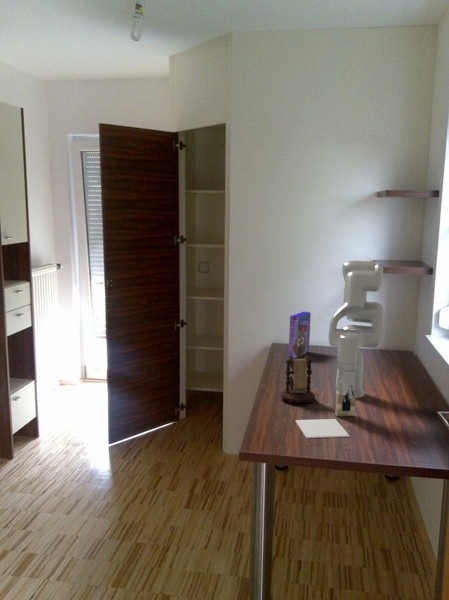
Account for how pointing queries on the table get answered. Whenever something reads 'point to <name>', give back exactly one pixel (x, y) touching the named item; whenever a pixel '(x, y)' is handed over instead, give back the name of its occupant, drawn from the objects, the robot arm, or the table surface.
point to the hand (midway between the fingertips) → (344, 408)
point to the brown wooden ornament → (298, 381)
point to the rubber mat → (321, 428)
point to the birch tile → (339, 406)
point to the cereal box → (299, 334)
